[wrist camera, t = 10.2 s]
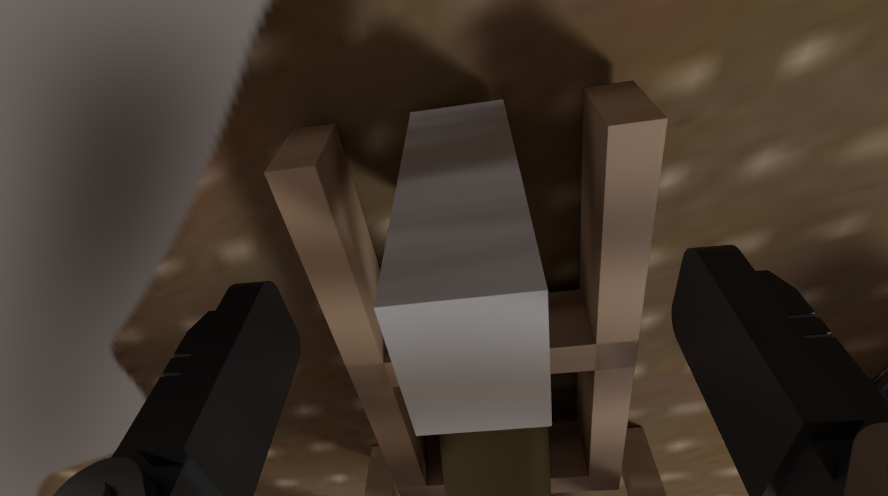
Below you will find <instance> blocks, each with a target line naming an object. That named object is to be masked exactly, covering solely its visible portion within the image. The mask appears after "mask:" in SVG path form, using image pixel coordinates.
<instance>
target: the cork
mask: <svg viewBox="0 0 888 496" xmlns="http://www.w3.org/2000/svg"><path fill="white" fill-rule="evenodd" d="M439 442H440V451H441V460H442V469H443V477H444V486H445V495H446V496H551V477H550V445H549V426H548V427H534V428H520V429H506V430H492V431H478V432H465V433H451V434H439Z"/></svg>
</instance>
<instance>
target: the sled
mask: <svg viewBox="0 0 888 496" xmlns="http://www.w3.org/2000/svg"><path fill="white" fill-rule="evenodd" d="M667 120H668V118H667V117H666V116H665V115H664V114H663V113H662V111H661V110H660V109H659V108H658V107H657V106H656V105H655V104H654V103H653V102H652V101H651V99H650V98H649V97H648V96H647V95H646V94H645V93H644V92H643V91H642V90H641V89H640V88H639V86H638V85H637V84H636V83H635V82H634V81H627V82H620V83H613V84H606V85H599V86H592V87H585V88H584V90H583V136H582V182H581V228H580V275H579V289H577V290H567V291H557V292H548V289H547V285H546V280H545V276H544V272H543V267H542V263H541V259H540V255H539V250H538V246H537V242H536V237H535V233H534V229H533V225H532V220H531V216H530V212H529V207H528V203H527V199H526V195H525V190H524V186H523V182H522V177H521V173H520V169H519V165H518V160H517V156H516V152H515V147H514V143H513V139H512V135H511V130H510V126H509V122H508V117H507V113H506V109H505V105H504V100H503V99H501V100H494V101H487V102H480V103H473V104H466V105H459V106H452V107H445V108H438V109H431V110H424V111H417V112H410V117H409V122H408V128H407V133H406V138H405V144H404V149H403V154H402V159H401V165H400V170H399V175H398V181H397V186H396V191H395V196H394V202H393V207H392V212H391V218H390V223H389V228H388V234H387V239H386V244H385V249H384V255H383V260H382V265H381V271H380V268H379V265H378V262H377V258H376V255H375V252H374V248H373V245H372V242H371V238H370V235H369V232H368V228H367V225H366V222H365V218H364V215H363V212H362V209H361V205H360V202H359V199H358V195H357V192H356V189H355V185H354V182H353V179H352V175H351V172H350V169H349V165H348V162H347V159H346V155H345V152H344V149H343V146H342V142H341V139H340V136H339V132H338V129H337V126H336V123H333V124H326V125H319V126H312V127H305V128H298V129H292V130H291V132H290V133H289V135H288V136H287V138H286V139H285V141H284V142H283V144H282V145H281V147H280V149H279V150H278V152H277V153H276V155H275V156H274V158H273V159H272V161H271V162H270V164H269V165H268V167H267V168H266V170H265V171H264V174H265V177H266V179H267V181H268V184H269V186H270V189H271V191H272V193H273V196H274V198H275V200H276V203H277V205H278V207H279V210H280V212H281V215H282V217H283V219H284V222H285V224H286V226H287V229H288V231H289V233H290V236H291V238H292V241H293V243H294V245H295V248H296V250H297V252H298V255H299V257H300V259H301V262H302V264H303V267H304V269H305V271H306V274H307V276H308V278H309V281H310V283H311V285H312V288H313V290H314V293H315V295H316V297H317V300H318V302H319V304H320V307H321V309H322V311H323V314H324V316H325V319H326V321H327V323H328V326H329V328H330V330H331V333H332V335H333V338H334V340H335V342H336V345H337V347H338V349H339V352H340V354H341V356H342V359H343V361H344V364H345V366H346V368H347V371H348V373H349V375H350V378H351V380H352V382H353V385H354V387H355V390H356V392H357V394H358V397H359V399H360V401H361V404H362V406H363V408H364V411H365V413H366V416H367V418H368V420H369V423H370V425H371V427H372V430H373V432H374V434H375V437H376V439H377V442H378V444H379V446H380V449H381V451H382V453H383V456H384V458H385V460H386V463H387V465H388V468H389V470H390V472H391V475H392V477H393V479H394V482H395V484H396V486H397V489H398V491H399V494H400V496H446V495H445V486H444V477H443V469H442V460H441V451H440V442H439V434H451V433H465V432H478V431H492V430H506V429H520V428H534V427H548V426H549V445H550V477H551V493H564V492H582V491H599V490H616V489H619V484H620V476H621V468H622V461H623V453H624V446H625V438H626V431H627V423H628V415H629V408H630V400H631V393H632V385H633V378H634V370H635V362H636V355H637V347H638V340H639V332H640V325H641V317H642V309H643V302H644V294H645V287H646V279H647V271H648V264H649V256H650V249H651V241H652V234H653V226H654V218H655V211H656V203H657V196H658V188H659V181H660V173H661V165H662V158H663V150H664V143H665V135H666V128H667ZM569 372H577V413H576V421H567V422H553V423H552V411H551V379H550V374H557V373H569Z"/></svg>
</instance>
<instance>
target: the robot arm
mask: <svg viewBox="0 0 888 496" xmlns="http://www.w3.org/2000/svg"><path fill="white" fill-rule="evenodd" d="M672 325H673V330H674V333H675V336H676V339H677V341H678V343H679V346H680V348H681V350H682V352H683V354H684V356H685V358H686V361H687V363H688V365H689V367H690V369H691V371H692V374H693V376H694V378H695V380H696V382H697V384H698V386H699V389H700V391H701V393H702V395H703V397H704V399H705V402H706V404H707V406H708V408H709V410H710V412H711V414H712V417H713V419H714V421H715V423H716V425H717V427H718V430H719V432H720V434H721V436H722V438H723V440H724V442H725V445H726V447H727V449H728V451H729V453H730V455H731V458H732V460H733V462H734V464H735V466H736V468H737V470H738V473H739V475H740V477H741V479H742V481H743V483H744V486H745V488H746V490H747V492H748V494H749V496H888V402H887V400H886V399H885V398H884V397H883V395H882V394H881V393H880V392H879V391H878V389H877V388H876V387H875V386H874V384H873V383H872V382H871V381H870V379H869V378H868V377H867V376H866V374H865V373H864V372H863V371H862V370H861V368H860V367H859V366H858V365H857V363H856V362H855V361H854V360H853V358H852V357H851V356H850V355H849V354H848V352H847V351H846V350H845V349H844V347H843V346H842V345H841V344H840V342H839V341H838V340H837V339H836V338H832V336H831V331H830V330H829V329H828V328H827V326H826V325H825V324H824V323H823V321H822V320H821V319H820V318H819V317H817V318H816V316H815V312H814V310H813V309H812V308H811V307H810V305H809V304H808V303H807V302H806V300H805V299H804V298H803V297H802V295H801V294H800V293H799V292H798V291H797V289H795V288H794V287H792V286H791V285H789V284H788V283H786V282H785V281H783V280H782V279H780V278H779V277H777V276H776V275H774V274H773V273H771V272H770V271H768V270H765V271H755V270H754V269H753V267H752V266H751V265H750V263H749V262H748V261H747V259H746V258H745V257H744V255H743V254H742V253H741V251H740V250H739V249H738V248H737V247H736V246H734V245H722V246H710V247H697V248H689V249H687V250H686V251H685V253H684V255H683V259H682V264H681V268H680V273H679V277H678V282H677V286H676V291H675V295H674V300H673V304H672ZM174 355H175V357H174V358H171V360H170V361H169V363H168V365H167V366H166V368H165V370H164V371H163V377H160V378H159V380H158V381H157V383H156V385H155V386H154V388H153V390H152V391H151V393H150V395H149V396H148V398H147V400H146V401H145V403H144V405H143V406H142V408H141V410H140V411H139V413H138V415H137V417H136V418H135V420H134V421H133V423H132V425H131V426H130V428H129V430H128V432H127V433H126V435H125V437H124V438H123V440H122V442H121V443H120V445H119V447H118V448H117V450H116V451H115V453H114V454H113V456H112V457H110V458H106V459H103V460H100V461H97V462H95V463H93V464H91V465H89V466H87V467H85V468H84V469H82V470H80V471H79V472H77V473H76V474H75V475H73V476H72V477H71V478H69V479H68V480H67V481H66V482H65V483H64V484H63V485H62V486H61V487H60V488H59V489H58V490H57V491H56V492H55V493H54V494H53V496H253V495H254V492H255V489H256V486H257V483H258V480H259V477H260V474H261V471H262V468H263V465H264V462H265V459H266V457H267V454H268V451H269V448H270V445H271V442H272V439H273V436H274V433H275V430H276V427H277V424H278V421H279V418H280V415H281V412H282V409H283V406H284V403H285V400H286V397H287V394H288V391H289V388H290V385H291V382H292V379H293V376H294V373H295V370H296V367H297V364H298V361H299V356H300V340H299V335H298V332H297V329H296V327H295V325H294V323H293V320H292V318H291V316H290V314H289V312H288V310H287V307H286V305H285V303H284V301H283V299H282V297H281V294H280V292H279V290H278V288H277V286H276V285H275V284H274V283H273V282H271V281H264V282H252V283H240V284H233V285H231V286H230V287H229V288H228V290H227V291H226V293H225V295H224V297H223V299H222V300H221V302H220V304H219V306H218V307H217V309H216V311H209V312H208V313H206V314H205V315H204V316H203V317H202V318H201V319H200V320H199V321H198V322H197V323H196V324H195V325H194V326H193V327H192V328H191V329H189V330H188V331H187V333H186V335H185V336H184V338H183V340H182V341H181V343H180V345H179V346H178V348H177V350H176V351H175V353H174Z"/></svg>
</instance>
